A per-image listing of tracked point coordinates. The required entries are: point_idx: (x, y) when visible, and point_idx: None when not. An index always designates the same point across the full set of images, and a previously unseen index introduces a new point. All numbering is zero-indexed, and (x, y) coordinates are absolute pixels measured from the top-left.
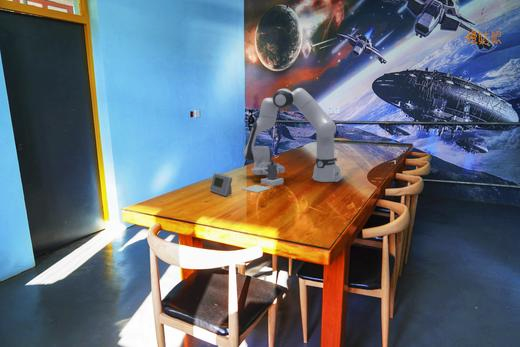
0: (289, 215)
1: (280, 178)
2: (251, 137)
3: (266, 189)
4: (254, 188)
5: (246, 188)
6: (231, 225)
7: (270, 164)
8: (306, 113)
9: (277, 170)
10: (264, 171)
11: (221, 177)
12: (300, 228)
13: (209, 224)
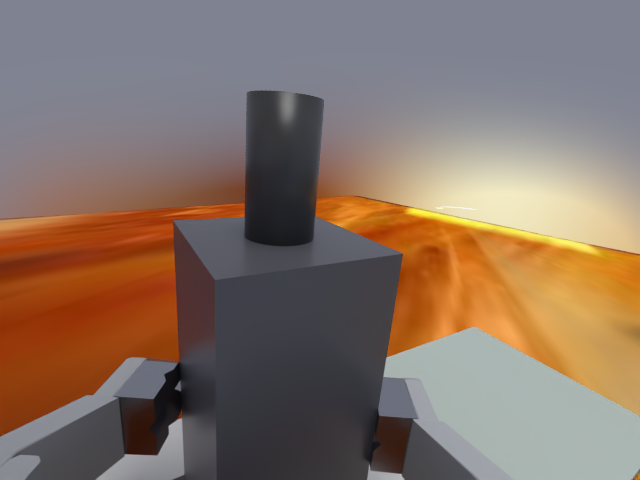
0: (370, 221)
1: (113, 478)
2: None
3: (406, 352)
4: (522, 398)
5: (616, 424)
6: (494, 228)
7: (313, 249)
8: None
9: (118, 390)
10: (461, 446)
11: None
12: (367, 208)
13: (546, 236)
